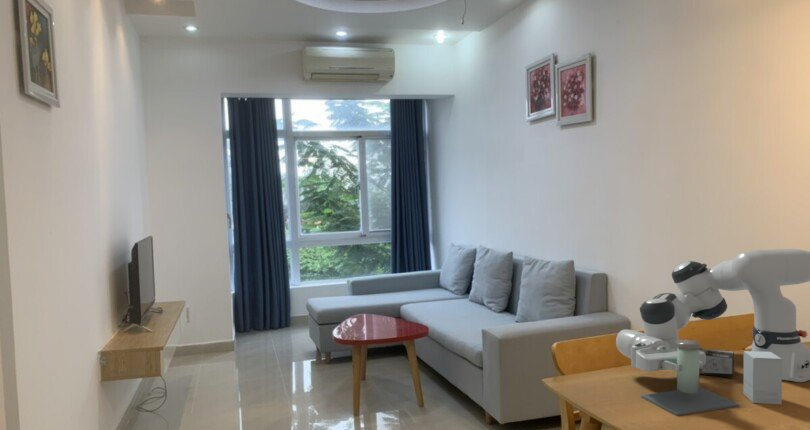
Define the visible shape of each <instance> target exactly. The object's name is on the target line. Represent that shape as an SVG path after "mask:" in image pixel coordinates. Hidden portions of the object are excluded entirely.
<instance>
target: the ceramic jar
mask: <svg viewBox="0 0 810 430" xmlns="http://www.w3.org/2000/svg"><path fill="white" fill-rule="evenodd" d="M676 346H677V363H678V364H680V365H682V371H678V372H676V390H679V391H681V392H685V393H698V392H699V387H700V374H699V349H700V348H701V342H700V341H697V340H692V339H679V340H678V341H676Z"/></svg>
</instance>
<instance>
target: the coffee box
mask: <svg viewBox="0 0 810 430" xmlns="http://www.w3.org/2000/svg"><path fill="white" fill-rule="evenodd" d="M699 351H703V352H704V353H705V355H706V363H705V365H703V368H702V369H699V375H708V376H714V377H721V378H728V379H733V378H734V373H735V352H734V351H730V350H721V349H712V348H704V347H703V348H702V347H700V349H699Z"/></svg>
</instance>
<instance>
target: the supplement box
mask: <svg viewBox="0 0 810 430" xmlns="http://www.w3.org/2000/svg"><path fill="white" fill-rule="evenodd" d="M782 383H783V380H782V359H781V358H780V357H778V356H777V355H775V354H774V353H772V352H764V351H751V350H750V351H749V350H743V395H744V396H745V397H746V398H747V399H749V401H750V402H751V403H752V404H765V405H782V404H783V402H782V399H783V398H782V395H783V393H782V390H783V388H782V386H783V384H782Z"/></svg>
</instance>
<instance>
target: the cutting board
mask: <svg viewBox="0 0 810 430" xmlns="http://www.w3.org/2000/svg"><path fill="white" fill-rule="evenodd" d="M640 396H641V399H644V400H646V401H648V402H649V403H652V404H654V405H656V406H658V407H659V408H662V409H663V410H665V411H667V412H669V413H671V414H673V415H675V416H683V415H688V414H689V415H690V414H695V413H697V414H698V413H702V412H709V411H715V410H717V411H718V410H722V409H730V408H735V407H739V406H740V404H739V403H738V402H735V401H733V400H730V399H728V398H726V397H724V396H721V395H719V394H716V393H715V392H712V391H710V390H707V389H705V388H703V387H700V386H699V392H698V393H685V392H681V391H679V390H677V389H676V390H670V391H662V392H655V393H654V392H653V393H648V394H641V395H640Z"/></svg>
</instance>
